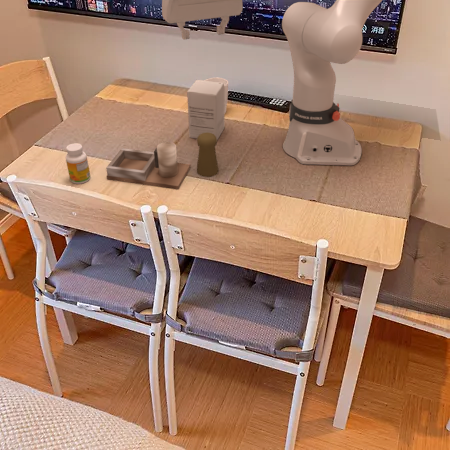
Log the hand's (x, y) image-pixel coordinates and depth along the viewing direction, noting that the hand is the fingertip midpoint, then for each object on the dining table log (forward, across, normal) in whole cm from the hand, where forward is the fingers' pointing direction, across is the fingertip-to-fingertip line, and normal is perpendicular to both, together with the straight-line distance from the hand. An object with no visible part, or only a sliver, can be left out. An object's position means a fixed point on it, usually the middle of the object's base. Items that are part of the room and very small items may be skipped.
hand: (203, 36), depth 134 cm
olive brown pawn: (+33, +4, +12) cm, 35 cm away
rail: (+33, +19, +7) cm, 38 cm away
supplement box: (+33, -4, -9) cm, 34 cm away
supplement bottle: (+33, +36, +2) cm, 49 cm away
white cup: (+33, -12, -21) cm, 41 cm away
